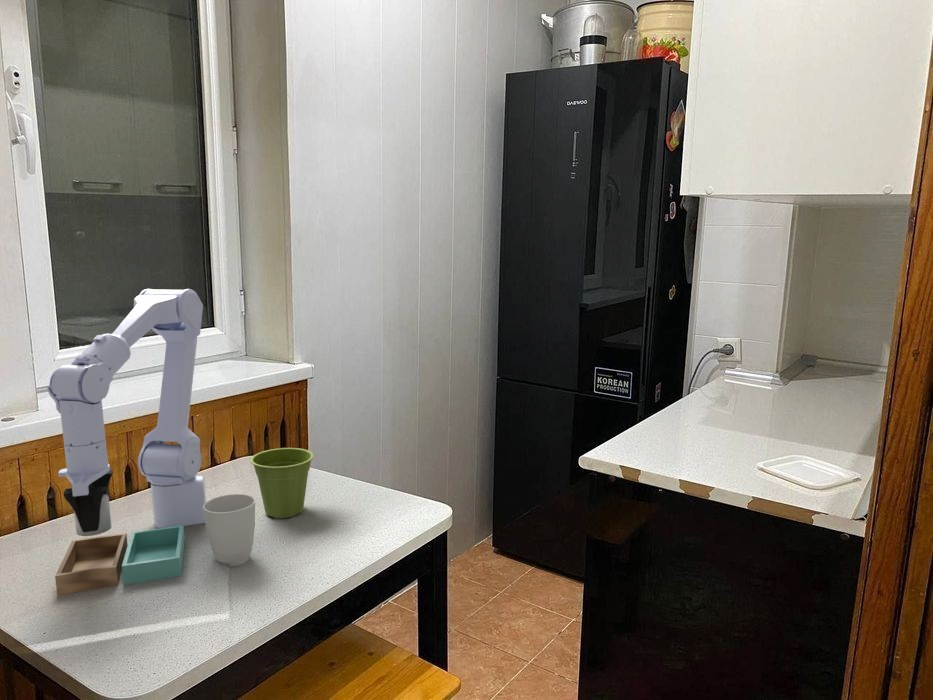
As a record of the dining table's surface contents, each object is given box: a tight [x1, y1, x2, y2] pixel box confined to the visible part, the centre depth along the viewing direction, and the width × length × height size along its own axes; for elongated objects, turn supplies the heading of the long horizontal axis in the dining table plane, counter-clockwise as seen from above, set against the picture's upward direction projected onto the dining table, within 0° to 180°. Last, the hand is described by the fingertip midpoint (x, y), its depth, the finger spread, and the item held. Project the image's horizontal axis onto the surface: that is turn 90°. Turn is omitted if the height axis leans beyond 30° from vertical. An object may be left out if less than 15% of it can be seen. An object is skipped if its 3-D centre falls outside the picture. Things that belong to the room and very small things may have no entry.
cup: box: [203, 493, 256, 568], centre depth 117 cm, size 8×8×10 cm
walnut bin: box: [54, 532, 129, 596], centre depth 113 cm, size 8×13×4 cm, turn 19°
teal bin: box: [121, 525, 186, 586], centre depth 116 cm, size 8×13×4 cm, turn 19°
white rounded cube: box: [73, 494, 113, 537], centre depth 112 cm, size 5×5×5 cm
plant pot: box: [249, 447, 315, 519], centre depth 137 cm, size 12×12×11 cm
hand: (93, 523), depth 112 cm, fingers closed on white rounded cube, 5 cm apart
